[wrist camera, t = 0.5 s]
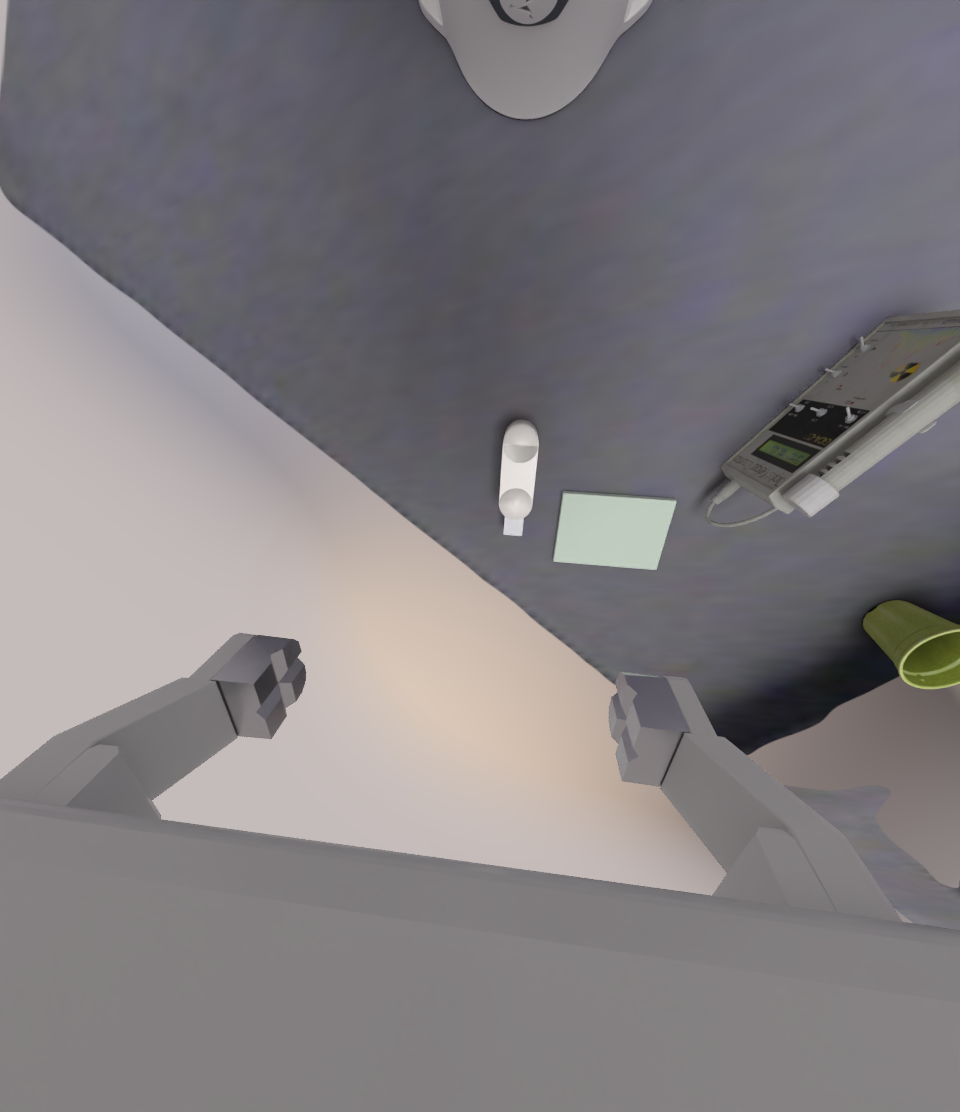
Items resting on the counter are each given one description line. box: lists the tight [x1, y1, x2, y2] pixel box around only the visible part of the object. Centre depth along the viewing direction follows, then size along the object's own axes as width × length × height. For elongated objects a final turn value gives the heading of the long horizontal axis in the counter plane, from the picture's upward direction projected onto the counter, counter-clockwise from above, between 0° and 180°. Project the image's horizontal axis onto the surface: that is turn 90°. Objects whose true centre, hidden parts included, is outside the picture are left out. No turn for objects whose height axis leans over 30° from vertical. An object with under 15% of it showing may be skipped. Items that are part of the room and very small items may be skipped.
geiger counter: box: [706, 310, 960, 527], centre depth 38 cm, size 14×6×25 cm
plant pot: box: [863, 600, 960, 689], centre depth 50 cm, size 9×9×9 cm
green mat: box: [553, 491, 677, 570], centre depth 51 cm, size 10×14×1 cm
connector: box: [499, 419, 539, 536], centre depth 47 cm, size 14×4×5 cm, turn 178°
